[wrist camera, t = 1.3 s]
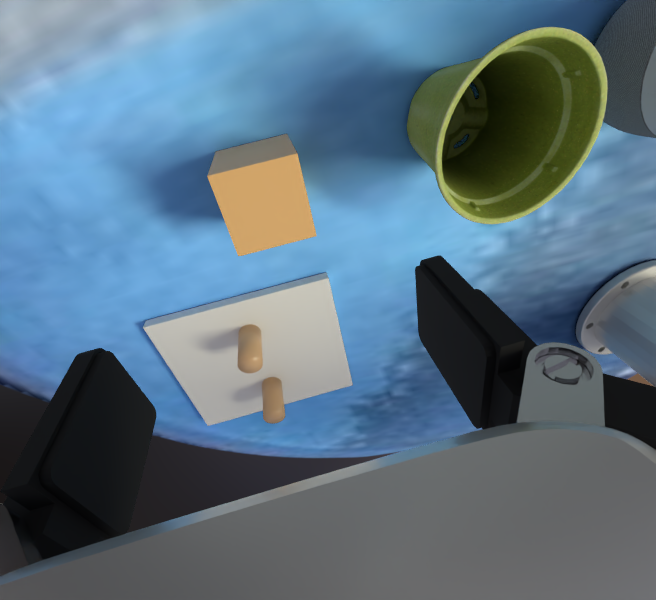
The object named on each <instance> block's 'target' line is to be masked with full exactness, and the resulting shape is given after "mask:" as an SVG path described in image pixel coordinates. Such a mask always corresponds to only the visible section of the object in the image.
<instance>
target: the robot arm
mask: <svg viewBox="0 0 656 600" xmlns="http://www.w3.org/2000/svg"><path fill="white" fill-rule="evenodd" d="M415 275H416V294H417V313H418V331H419V336H420V339H421V342H422V343H423V345H424V347H425V348H426V350H427V351H428V353H429V355H430V356H431V358H432V359H433V361H434V363H435V364H436V366H437V367H438V369H439V371H440V372H441V374H442V376H443V377H444V379H445V380H446V382H447V384H448V385H449V387H450V388H451V390H452V392H453V393H454V395H455V396H456V398H457V400H458V401H459V403H460V404H461V406H462V408H463V409H464V411H465V412H466V414H467V416H468V417H469V419H470V421H471V422H472V424H473V425H474V426H475V427H476V428H477V429H478V428H482V429H483V430H479V431H474V432H470V433H467V434H463V435H459V436H456V437H452V438H448V439H445V440H441V441H437V442H434V443H430V444H427V445H423V446H419V447H416V448H412V449H409V450H405V451H402V452H398V453H395V454H392V455H388V456H385V457H381V458H378V459H375V460H371V461H368V462H364V463H361V464H357V465H354V466H351V467H348V468H344V469H340V470H337V471H333V472H330V473H327V474H324V475H320V476H316V477H313V478H310V479H306V480H303V481H300V482H297V483H293V484H290V485H286V486H283V487H279V488H276V489H273V490H269V491H266V492H263V493H259V494H256V495H253V496H250V497H246V498H243V499H239V500H236V501H233V502H229V503H226V504H223V505H219V506H216V507H212V508H209V509H206V510H203V511H199V512H196V513H193V514H189V515H186V516H183V517H179V518H176V519H173V520H170V521H167V522H163V523H160V524H156V525H153V526H150V527H147V528H143V529H140V530H137V531H133V532H130V533H127V534H125V533H126V532H127V530H128V529H129V527H130V523H131V519H132V515H133V511H134V507H135V502H136V498H137V494H138V490H139V486H140V481H141V478H142V473H143V470H144V465H145V461H146V457H147V453H148V449H149V445H150V441H151V437H152V433H153V428H154V424H155V420H156V410H155V408H154V406H153V405H152V403H151V402H150V401H149V400H148V398H147V397H146V396H145V394H144V393H143V392H142V391H141V389H140V388H139V387H138V385H137V384H136V383H135V381H134V380H133V379H132V378H131V376H130V375H129V374H128V372H127V371H126V370H125V369H124V367H123V366H122V365H121V363H120V362H119V361H118V360H117V358H116V357H115V356H114V354H113V353H112V352H110V351H105V350H104V349H102V348H98V349H94V350H90V351H87V352H83V353H80V354H78V355H77V356H76V357H75V359H74V361H73V362H72V364H71V366H70V368H69V369H68V371H67V373H66V375H65V377H64V378H63V380H62V382H61V384H60V386H59V387H58V389H57V391H56V393H55V394H54V396H53V398H52V400H51V402H50V403H49V405H48V407H47V409H46V411H45V412H44V414H43V416H42V418H41V419H40V421H39V423H38V425H37V427H36V429H35V430H34V432H33V434H32V435H31V437H30V439H29V441H28V443H27V444H26V446H25V448H24V450H23V452H22V453H21V455H20V457H19V459H18V461H17V462H16V464H15V466H14V468H13V469H12V471H11V473H10V475H9V477H8V479H7V480H6V482H5V484H4V486H3V487H2V489H1V491H0V492H2V493H3V494H5V495H7V498H6V500H5V501H4V503H3V504H0V600H656V260H654V261H649V262H645V263H642V264H639V265H636V266H634V267H632V268H629V269H627V270H626V271H624V272H622V273H620V274H619V275H617V276H616V277H614V278H613V279H612V280H610V281H609V282H607V283H606V284H605V285H604V286H603V287H602V288H601V289H599V290H598V291H597V292H596V294H595V295H594V296H593V297H592V298H591V299H590V300H589V302H588V303H587V304H586V306H585V307H584V309H583V311H582V312H581V314H580V316H579V319H578V322H577V325H576V337H577V340H578V342H579V343H580V344H581V345H582V346H583V347H584V348H585V349H586V350H588V351H590V352H591V353H595V354H611V353H614V354H615V355H616V356H617V357H618V358H620V359H621V360H622V361H623V362H625V363H626V364H627V365H628V366H630V367H631V368H632V369H633V370H635V371H636V372H637V373H638V374H640V375H641V376H642V377H643V378H645V379H646V380H647V381H648V382H650V383H651V384H652V385H653V386H650V385H646V384H642V383H638V382H634V381H630V380H626V379H622V378H619V377H615V376H611V375H607V374H603V372H602V369H601V365H600V364H599V363H598V361H597V360H596V359H595V358H594V357H593V356H592V355H590V354H589V353H588V352H586V351H584V350H582V349H580V348H578V347H576V346H572V345H569V344H565V343H554V342H553V343H544V344H541V345H538V346H537V345H536V344H535V343H534V342H533V341H532V340H531V339H530V338H529V337H528V336H527V335H526V334H525V333H524V332H523V331H522V330H521V329H520V328H519V327H518V326H517V325H516V324H515V323H514V322H513V321H512V320H511V319H510V318H509V317H508V316H507V315H506V314H505V313H504V312H503V311H502V310H501V309H500V308H499V307H498V306H497V305H496V304H495V303H494V302H493V301H492V300H491V299H490V298H489V297H487V296H486V295H485V294H484V293H483V292H482V291H481V290H478V289H475V290H474V289H473V288H472V287H471V285H470V284H469V283H468V282H467V281H466V280H465V279H464V278H463V277H462V276H461V275H460V274H459V273H458V272H457V271H456V270H455V269H454V268H453V267H452V266H451V265H450V264H449V263H448V262H447V261H446V260H445V259H444V258H443V257H442V256H435V257H431V258H428V259H424V260H422V261H421V262H420V266H417V267H416V268H415Z"/></svg>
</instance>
